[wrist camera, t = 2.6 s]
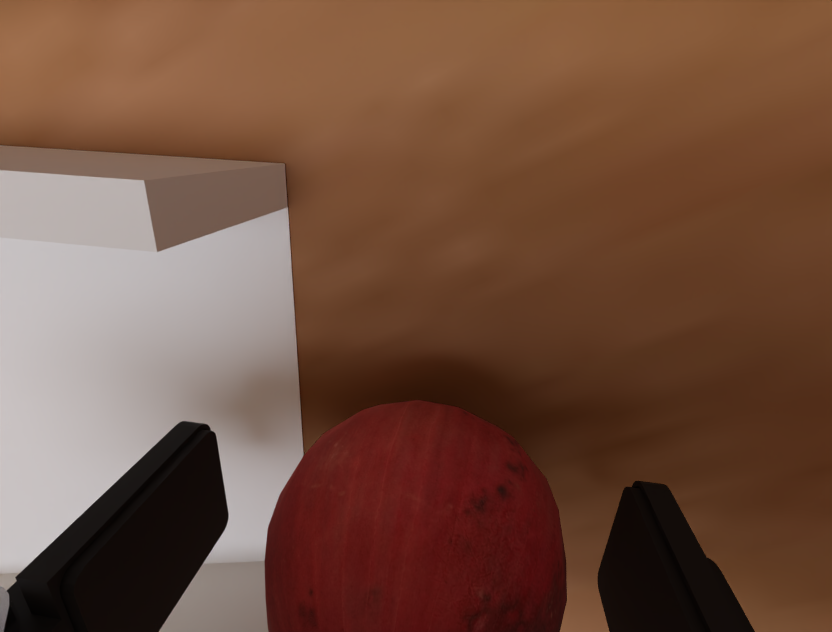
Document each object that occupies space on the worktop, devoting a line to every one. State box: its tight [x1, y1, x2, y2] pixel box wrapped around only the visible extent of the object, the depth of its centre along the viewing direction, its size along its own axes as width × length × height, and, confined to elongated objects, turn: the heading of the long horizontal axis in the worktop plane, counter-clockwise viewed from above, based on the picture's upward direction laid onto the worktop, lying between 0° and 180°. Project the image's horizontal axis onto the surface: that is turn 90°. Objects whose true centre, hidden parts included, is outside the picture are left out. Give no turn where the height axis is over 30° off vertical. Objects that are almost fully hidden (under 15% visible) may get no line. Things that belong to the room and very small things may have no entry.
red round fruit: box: [264, 400, 567, 632], centre depth 9 cm, size 6×6×8 cm
